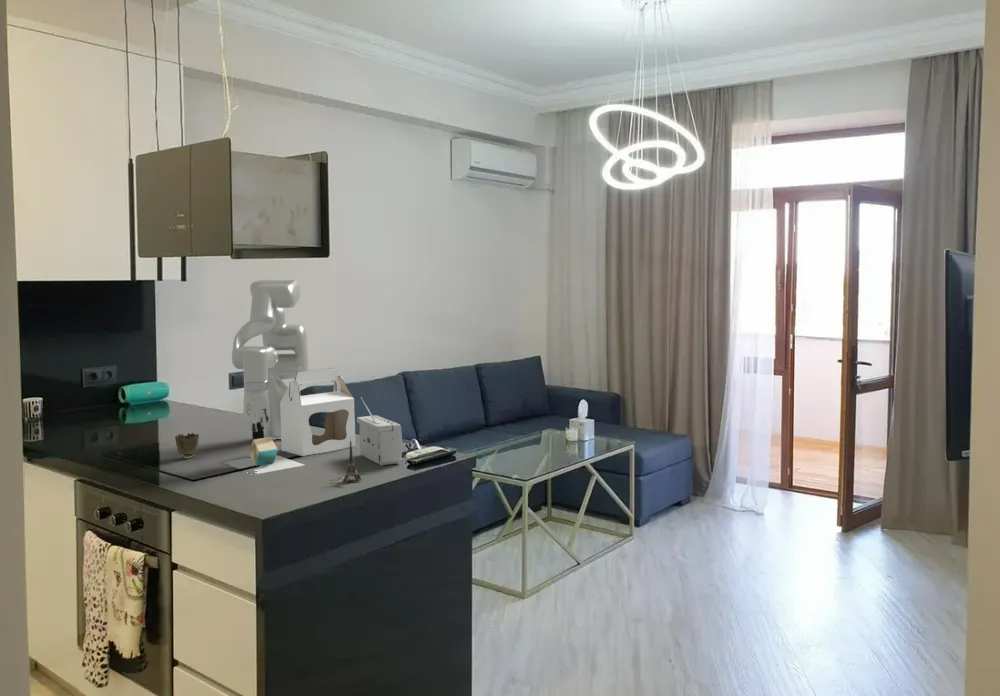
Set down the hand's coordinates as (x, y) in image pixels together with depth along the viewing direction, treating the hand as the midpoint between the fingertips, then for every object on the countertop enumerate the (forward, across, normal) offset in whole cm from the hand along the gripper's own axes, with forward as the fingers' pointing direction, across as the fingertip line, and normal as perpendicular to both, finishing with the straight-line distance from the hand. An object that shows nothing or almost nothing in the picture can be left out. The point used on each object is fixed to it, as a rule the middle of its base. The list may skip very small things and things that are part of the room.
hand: (258, 443), depth 257 cm
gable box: (+7, -7, +25) cm, 27 cm away
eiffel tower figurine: (+8, +39, +10) cm, 41 cm away
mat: (+7, +2, 0) cm, 7 cm away
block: (0, 0, 0) cm, 1 cm away
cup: (+7, -24, -14) cm, 29 cm away
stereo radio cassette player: (+7, +22, +31) cm, 39 cm away
